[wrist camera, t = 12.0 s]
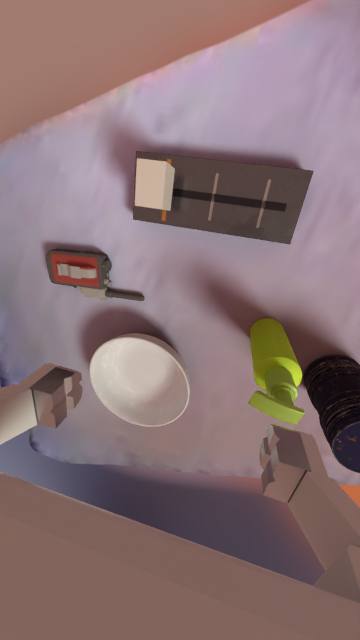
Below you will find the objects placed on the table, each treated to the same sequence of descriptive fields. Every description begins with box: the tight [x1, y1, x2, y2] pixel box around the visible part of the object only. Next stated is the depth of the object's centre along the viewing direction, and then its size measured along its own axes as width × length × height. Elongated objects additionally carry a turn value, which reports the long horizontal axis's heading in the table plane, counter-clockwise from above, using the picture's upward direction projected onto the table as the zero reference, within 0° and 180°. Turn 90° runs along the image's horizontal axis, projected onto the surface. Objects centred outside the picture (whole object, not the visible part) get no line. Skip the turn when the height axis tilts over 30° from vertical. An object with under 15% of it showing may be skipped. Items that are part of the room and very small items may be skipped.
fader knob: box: [135, 158, 175, 211], centre depth 31 cm, size 4×5×7 cm
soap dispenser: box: [248, 318, 305, 425], centre depth 33 cm, size 6×7×20 cm
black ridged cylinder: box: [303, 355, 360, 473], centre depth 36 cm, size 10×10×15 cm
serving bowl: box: [89, 333, 190, 427], centre depth 48 cm, size 21×21×7 cm
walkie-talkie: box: [46, 249, 144, 301], centre depth 44 cm, size 9×4×20 cm
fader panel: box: [133, 151, 313, 244], centre depth 34 cm, size 24×9×3 cm, turn 82°
